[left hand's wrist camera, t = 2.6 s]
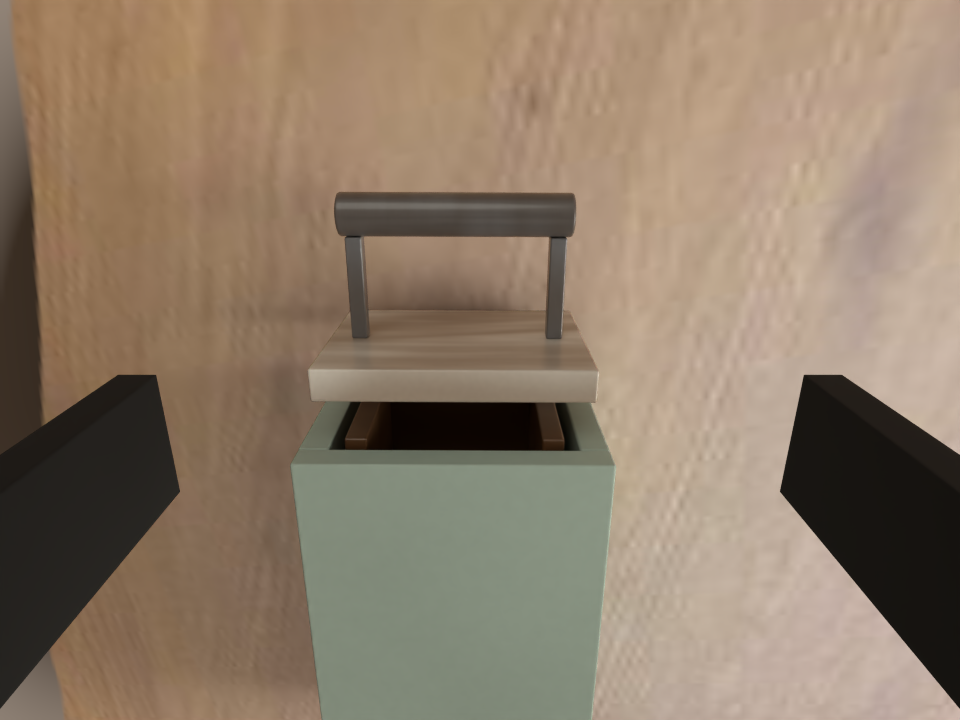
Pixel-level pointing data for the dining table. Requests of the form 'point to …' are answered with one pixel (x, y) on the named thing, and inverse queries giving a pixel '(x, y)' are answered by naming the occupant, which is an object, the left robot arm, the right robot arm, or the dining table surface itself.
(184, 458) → the dining table surface
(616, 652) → the dining table surface
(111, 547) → the left robot arm
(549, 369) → the drawer
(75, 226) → the dining table surface
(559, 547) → the cabinet
